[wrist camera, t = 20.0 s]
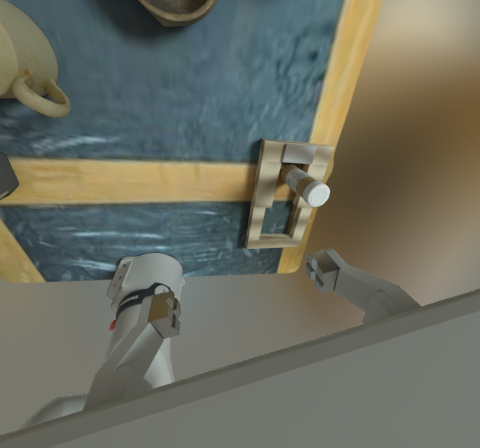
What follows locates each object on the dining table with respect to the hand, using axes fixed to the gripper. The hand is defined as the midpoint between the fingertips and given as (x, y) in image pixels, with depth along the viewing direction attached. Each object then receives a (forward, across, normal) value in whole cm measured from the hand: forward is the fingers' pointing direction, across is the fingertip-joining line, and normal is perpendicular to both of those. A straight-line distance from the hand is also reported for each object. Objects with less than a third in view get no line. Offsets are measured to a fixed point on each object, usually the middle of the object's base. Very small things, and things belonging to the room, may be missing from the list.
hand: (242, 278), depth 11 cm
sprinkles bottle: (+34, -18, +9) cm, 40 cm away
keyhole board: (+34, -16, +16) cm, 41 cm away
